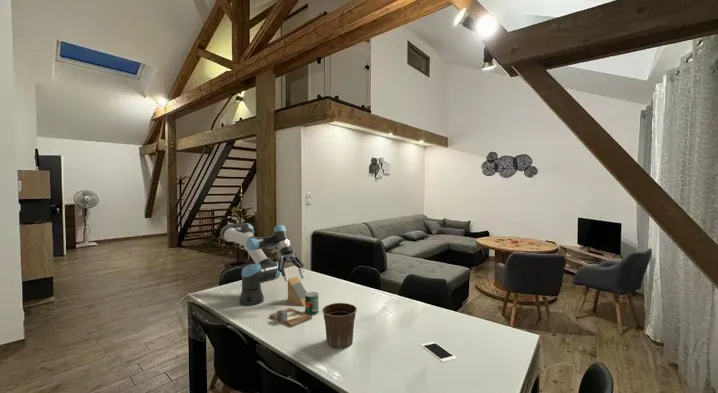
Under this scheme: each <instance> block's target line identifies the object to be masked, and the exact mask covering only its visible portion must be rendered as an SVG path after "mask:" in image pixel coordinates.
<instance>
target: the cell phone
mask: <svg viewBox="0 0 718 393" xmlns="http://www.w3.org/2000/svg"><path fill="white" fill-rule="evenodd" d="M420 346H421V347H423V349H425V350H426V351H427V352H429V353H430V354H431V355H433V356H434V357H435V358H437V359H438V360H439V361H440V362H441V363H445V362H449V361H453V360H457V359H458V357H456V355H454V354H452V353H451V352H450V351H448V350H447V349H446V348H444V347H443V346H441V345H440V344H439V343H437V342H435V341H432V342H431V341H430V342H426V343H422V344H420Z"/></svg>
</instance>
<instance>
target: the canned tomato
mask: <svg viewBox="0 0 718 393" xmlns="http://www.w3.org/2000/svg"><path fill="white" fill-rule="evenodd" d="M304 313H305V314H307V315H310V316H316V315H318V314H319V293H318V292H315V291H311V292H310V291H309V292H307V293H306V294H305V307H304Z"/></svg>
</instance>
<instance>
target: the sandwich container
mask: <svg viewBox="0 0 718 393" xmlns="http://www.w3.org/2000/svg"><path fill="white" fill-rule="evenodd" d="M306 293H308V292H307V290H306V289H305V287H304V285H303V284H302V282H301V281H300V278H299V277H298V276H294V277H291V278H288V281H287V302H288V303H290V304H293V305H297V306H301V307H304V308H305V294H306Z"/></svg>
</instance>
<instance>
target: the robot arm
mask: <svg viewBox="0 0 718 393" xmlns="http://www.w3.org/2000/svg"><path fill="white" fill-rule="evenodd" d="M254 235H255V230H254V227H253V225H252V224H250V223H248V222H242V223H230V224H226V225H225V226H223V227H222V228H221V230H220V237H221V238H222V240H223V241H225V242H229V243H230V242H233V243H237V244H238V245H242V246H243V247H244V249H246V251H247V253H248V255H249V256H250V257H251V259H252V260H253V262H254V263H250V264H247V265H245V266H243V268H242V269H241V292H240V296H239V298H238V304H239V305H242V306H255V305H259V304H261V303H263V302H264V294H263V291H262V284H264V283H268V282H271V281H275V280H278V278H280V276H281V277H282V278H283V280H284V283H287V282H288V279H289V278H288V274H287V273H288V272H287V271H286V269H285V268H286V266H287V264H288V263H292V264H294V266H296V267H297V270H298V274H299V276H300V279H301V280H303V279H304V278H306V277H305V273H304V269H303V268H304V267H305V265H304V263H303V261H302V260H301V259H300V258H299V256H298V254H297V253H295V254H293V247H292V246H291V244H292V243H291V241H290V237H289V235H288V232H287V228H286V226H285V225H283V224H279V225H276V226H274V228H273V233H272V234H271V235H268V236H267V235H266V236H259V237H258V236H254ZM277 246H278V248H279V252H280V255H279V256H278V261H273V260H272V258H270V257H267V255H266V254H265V253H264V251H263V249H268V250H272V249H274V248H276V247H277Z"/></svg>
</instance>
